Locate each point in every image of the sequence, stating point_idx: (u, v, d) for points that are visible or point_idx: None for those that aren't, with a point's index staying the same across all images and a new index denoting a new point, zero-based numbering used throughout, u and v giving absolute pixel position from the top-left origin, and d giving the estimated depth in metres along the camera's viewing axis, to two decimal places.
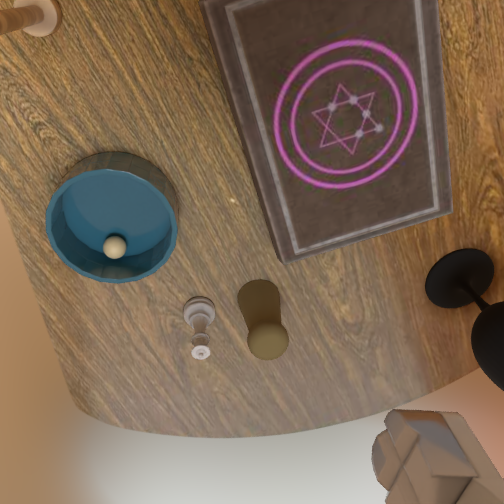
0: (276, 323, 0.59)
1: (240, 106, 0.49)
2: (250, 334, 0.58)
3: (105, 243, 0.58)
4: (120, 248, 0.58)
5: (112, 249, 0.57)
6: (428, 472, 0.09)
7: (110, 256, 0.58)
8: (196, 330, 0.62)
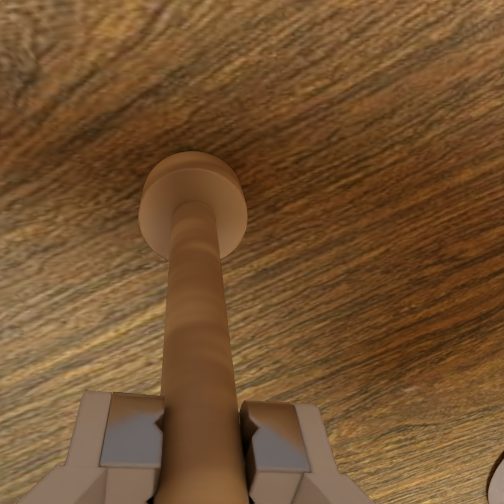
0: None
1: None
2: None
3: None
4: None
5: None
6: (256, 467, 0.08)
7: None
8: None
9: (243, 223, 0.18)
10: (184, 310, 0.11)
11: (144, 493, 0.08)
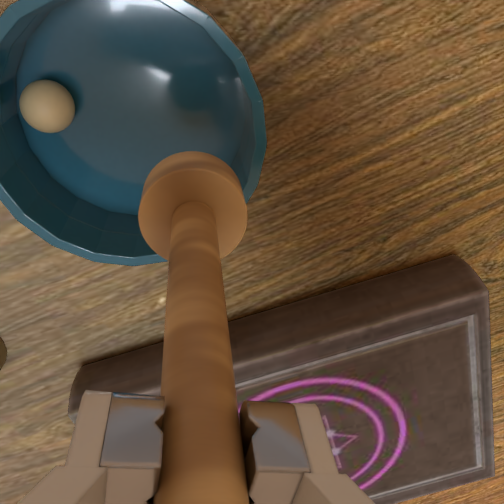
0: None
1: (344, 338, 0.33)
2: None
3: (59, 91, 0.25)
4: (52, 126, 0.25)
5: (49, 112, 0.25)
6: (255, 467, 0.08)
7: (28, 103, 0.25)
8: None
9: (243, 223, 0.18)
10: (184, 310, 0.11)
11: (144, 493, 0.08)
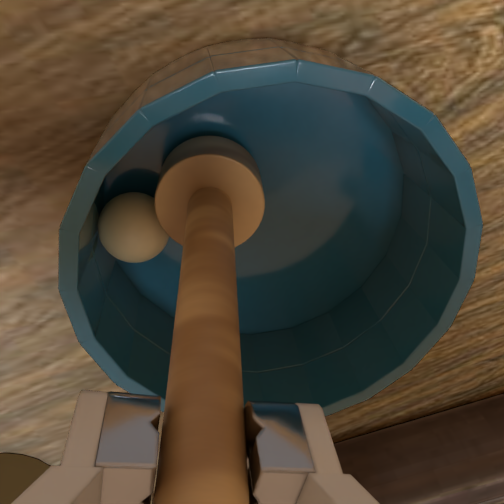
0: None
1: None
2: None
3: (142, 224, 0.18)
4: (132, 262, 0.19)
5: (126, 253, 0.18)
6: (260, 467, 0.08)
7: (102, 235, 0.18)
8: None
9: (258, 216, 0.18)
10: (198, 301, 0.11)
11: (140, 493, 0.08)
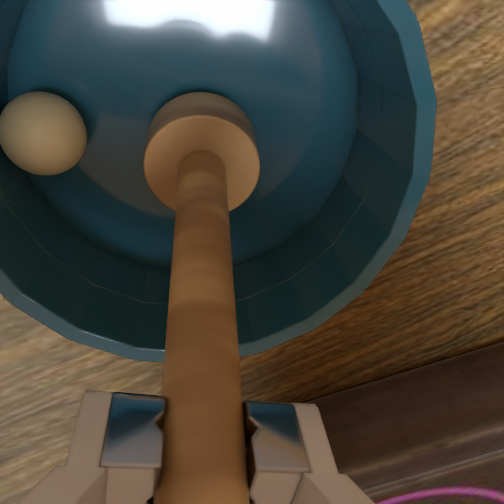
0: None
1: (480, 440, 0.23)
2: None
3: (49, 128, 0.15)
4: (41, 174, 0.16)
5: (31, 162, 0.15)
6: (255, 467, 0.08)
7: (2, 141, 0.15)
8: None
9: (246, 194, 0.17)
10: (205, 283, 0.11)
11: (145, 493, 0.08)
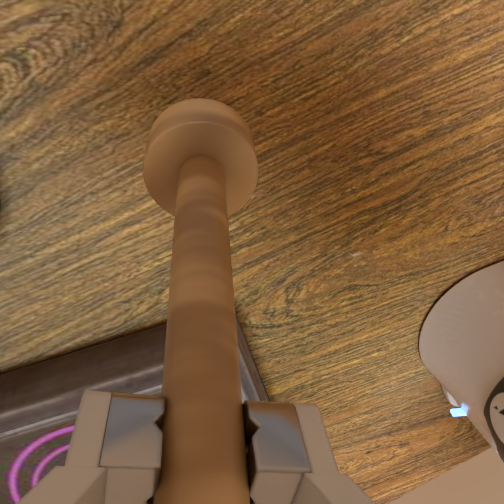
0: None
1: (108, 387, 0.35)
2: None
3: None
4: None
5: None
6: (256, 467, 0.08)
7: None
8: None
9: (244, 199, 0.17)
10: (205, 284, 0.11)
11: (144, 493, 0.08)
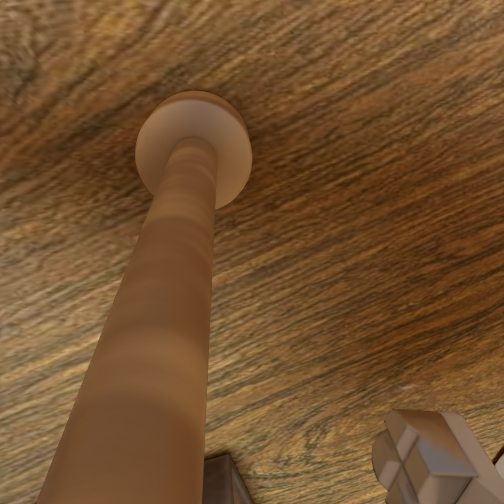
0: None
1: None
2: None
3: None
4: None
5: None
6: (428, 472, 0.09)
7: None
8: None
9: (238, 188, 0.17)
10: (181, 206, 0.10)
11: None
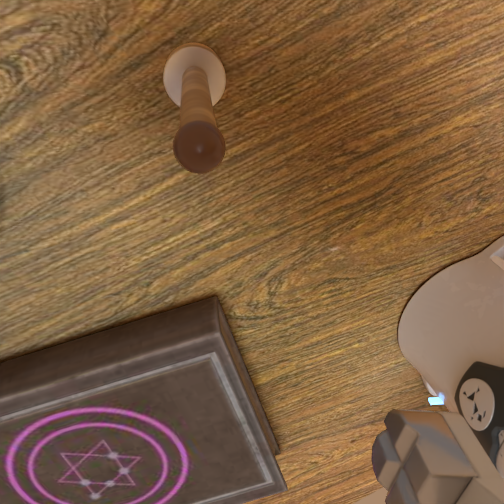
0: None
1: (99, 374, 0.37)
2: None
3: None
4: None
5: None
6: (428, 472, 0.09)
7: None
8: None
9: (218, 97, 0.31)
10: (198, 86, 0.24)
11: None
